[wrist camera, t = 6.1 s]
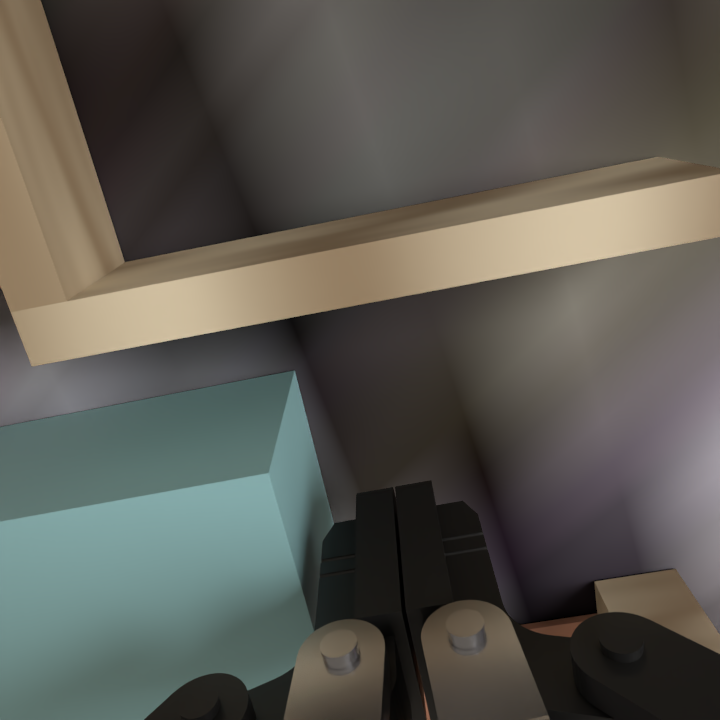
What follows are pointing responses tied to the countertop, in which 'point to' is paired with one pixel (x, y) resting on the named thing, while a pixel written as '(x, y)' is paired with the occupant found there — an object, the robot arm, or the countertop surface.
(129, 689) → the teal block
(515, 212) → the beige wooden flat frame
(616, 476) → the countertop surface
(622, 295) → the countertop surface
